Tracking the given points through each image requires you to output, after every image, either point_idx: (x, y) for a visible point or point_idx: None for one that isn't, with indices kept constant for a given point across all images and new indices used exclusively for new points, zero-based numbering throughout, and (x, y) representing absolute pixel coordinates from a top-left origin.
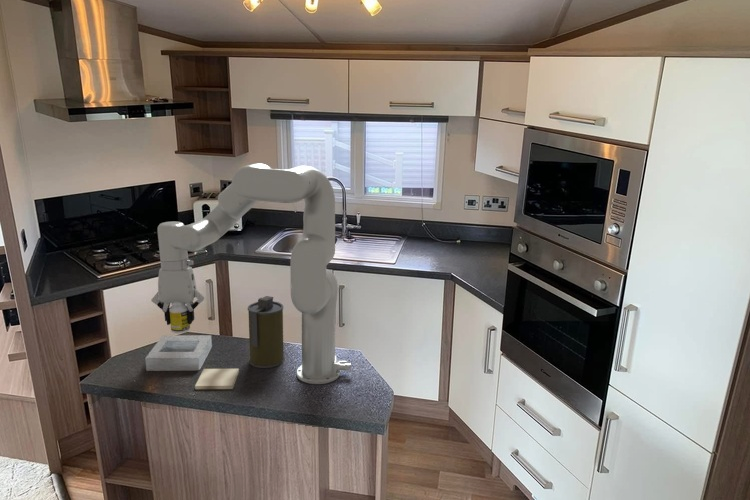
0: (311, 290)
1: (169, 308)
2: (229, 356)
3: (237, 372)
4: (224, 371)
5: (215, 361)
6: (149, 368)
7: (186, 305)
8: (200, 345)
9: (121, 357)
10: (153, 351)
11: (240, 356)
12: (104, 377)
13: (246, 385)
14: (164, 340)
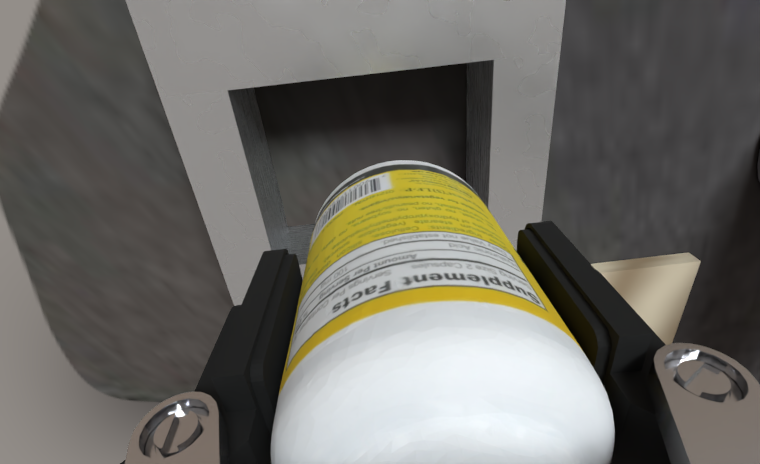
0: None
1: (255, 452)
2: (652, 91)
3: (689, 293)
4: (632, 291)
5: (573, 163)
6: None
7: (596, 451)
8: (514, 150)
9: (10, 170)
10: (239, 264)
11: (718, 84)
12: (118, 353)
13: (703, 340)
14: (204, 87)
